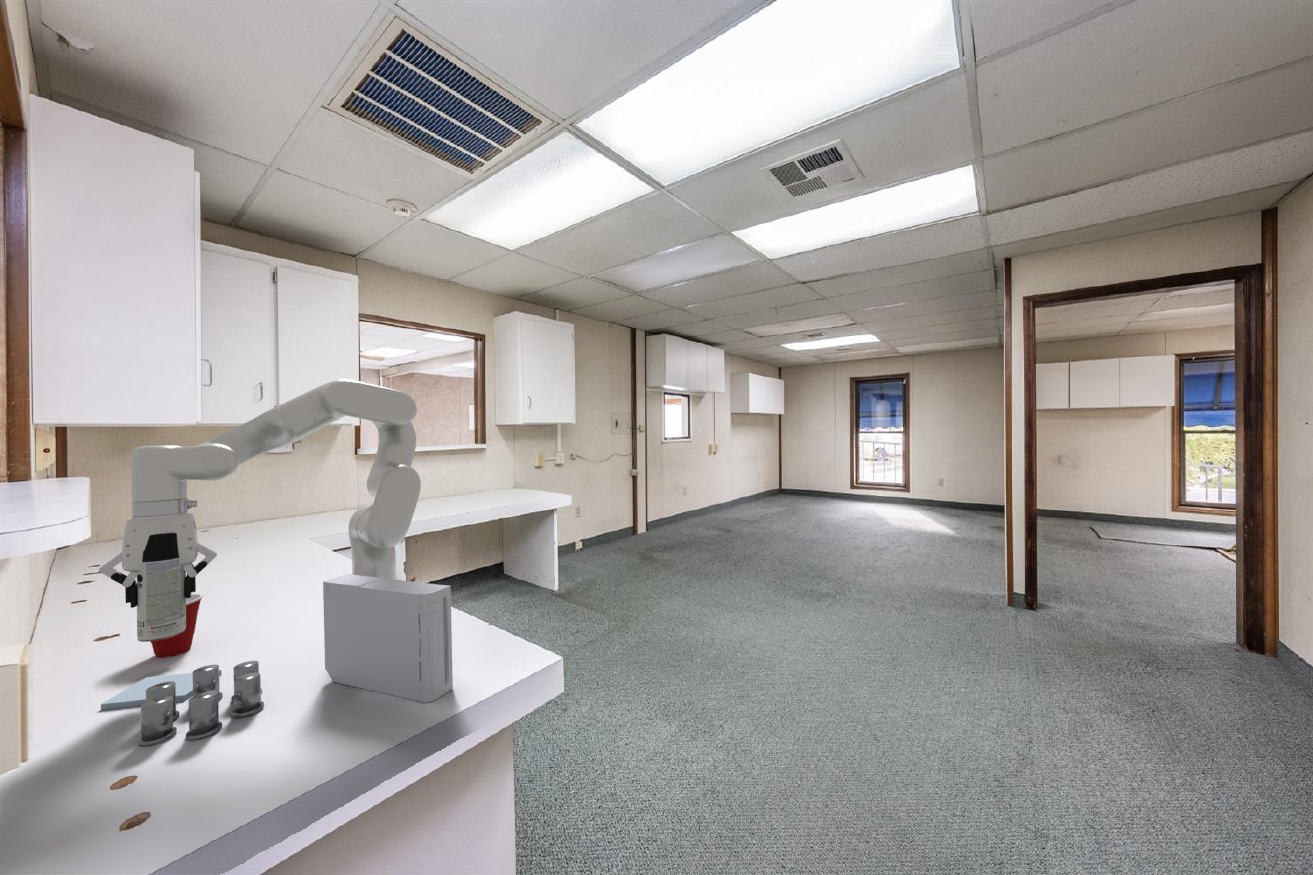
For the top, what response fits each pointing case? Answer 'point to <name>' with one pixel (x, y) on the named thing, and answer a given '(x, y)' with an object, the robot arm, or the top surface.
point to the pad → (138, 691)
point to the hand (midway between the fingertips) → (162, 600)
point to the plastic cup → (184, 639)
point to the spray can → (161, 590)
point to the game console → (389, 636)
